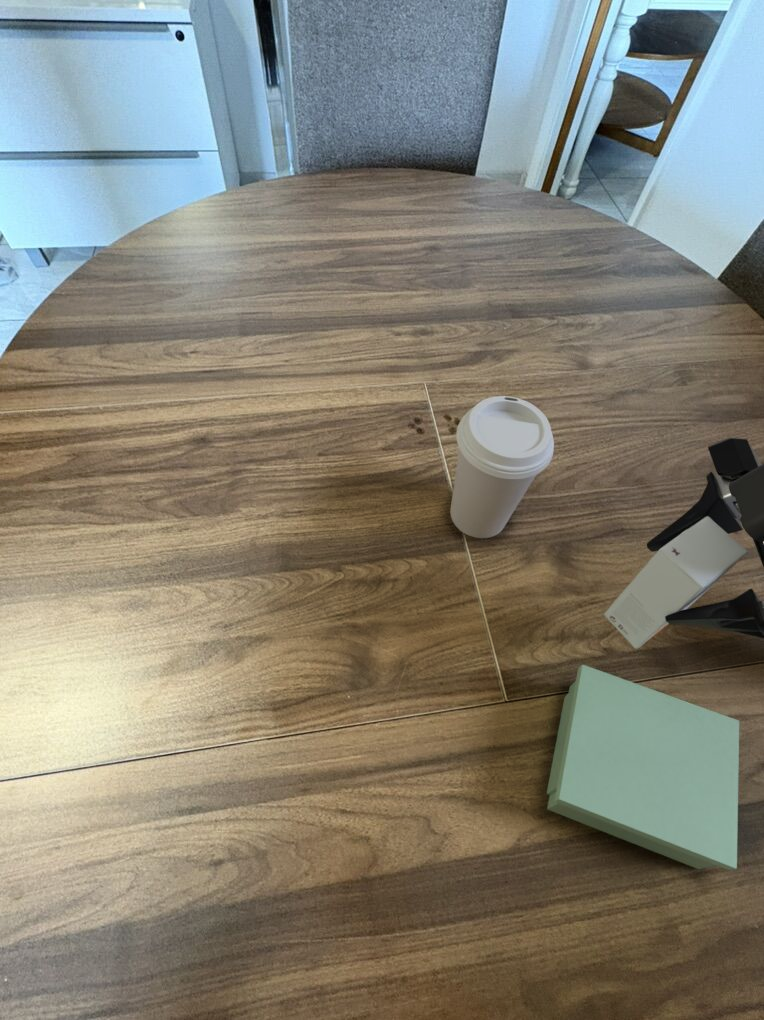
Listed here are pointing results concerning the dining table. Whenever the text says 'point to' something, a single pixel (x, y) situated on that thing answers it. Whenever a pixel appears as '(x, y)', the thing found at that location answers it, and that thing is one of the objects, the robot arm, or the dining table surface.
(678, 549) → the cosmetic box
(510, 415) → the coffee cup
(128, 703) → the dining table surface
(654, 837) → the stand
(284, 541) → the dining table surface
